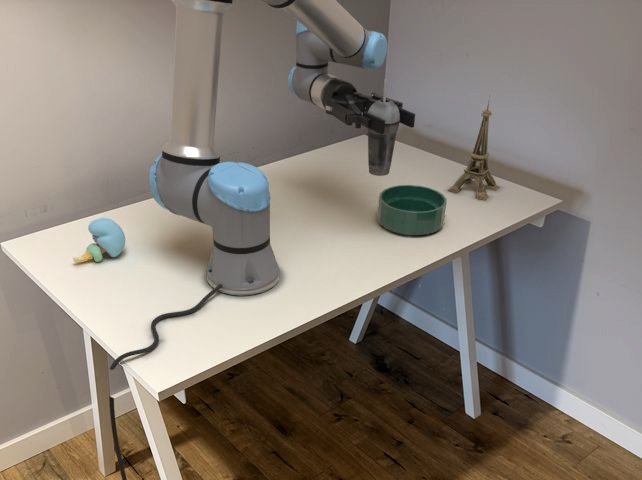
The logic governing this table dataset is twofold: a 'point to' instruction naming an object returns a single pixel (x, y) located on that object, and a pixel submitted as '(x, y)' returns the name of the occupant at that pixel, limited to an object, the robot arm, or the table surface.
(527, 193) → the table surface
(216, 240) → the robot arm
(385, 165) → the beverage cup
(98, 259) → the brain model
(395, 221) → the green pet bowl
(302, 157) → the table surface
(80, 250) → the table surface
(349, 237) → the table surface
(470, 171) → the eiffel tower
